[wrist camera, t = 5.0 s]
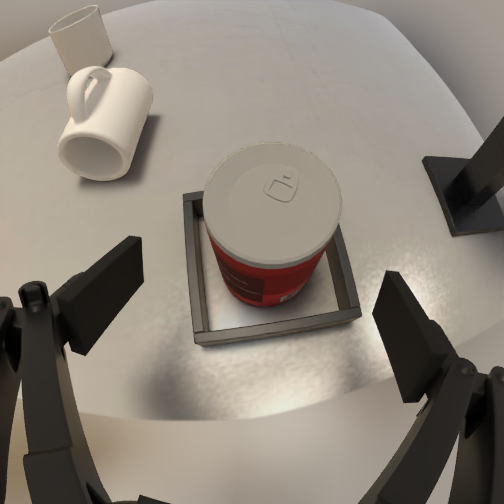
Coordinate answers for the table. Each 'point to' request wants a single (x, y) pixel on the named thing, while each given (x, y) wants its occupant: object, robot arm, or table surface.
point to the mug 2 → (104, 121)
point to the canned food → (270, 219)
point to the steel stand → (471, 186)
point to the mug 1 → (81, 40)
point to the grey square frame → (207, 338)
